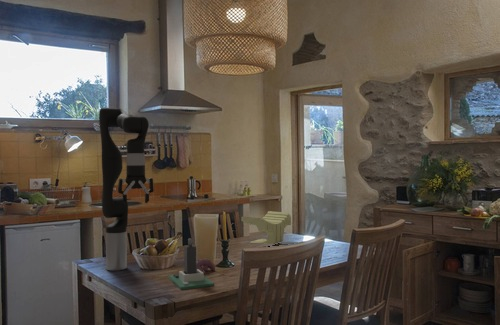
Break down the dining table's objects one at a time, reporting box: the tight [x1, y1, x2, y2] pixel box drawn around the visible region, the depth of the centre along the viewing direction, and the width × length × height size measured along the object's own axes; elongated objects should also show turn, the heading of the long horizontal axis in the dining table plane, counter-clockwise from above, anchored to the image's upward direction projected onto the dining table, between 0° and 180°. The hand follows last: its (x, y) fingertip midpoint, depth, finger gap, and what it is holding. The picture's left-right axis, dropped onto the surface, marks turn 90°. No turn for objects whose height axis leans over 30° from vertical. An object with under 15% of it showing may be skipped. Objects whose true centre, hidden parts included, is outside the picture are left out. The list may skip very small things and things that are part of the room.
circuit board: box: [167, 269, 215, 291], centre depth 200 cm, size 20×14×4 cm
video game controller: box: [196, 258, 216, 273], centre depth 217 cm, size 10×5×7 cm, turn 143°
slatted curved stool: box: [241, 210, 292, 244], centre depth 281 cm, size 30×16×18 cm, turn 147°
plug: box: [183, 238, 197, 274], centre depth 200 cm, size 4×5×17 cm
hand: (135, 203), depth 199 cm, fingers open, 8 cm apart
